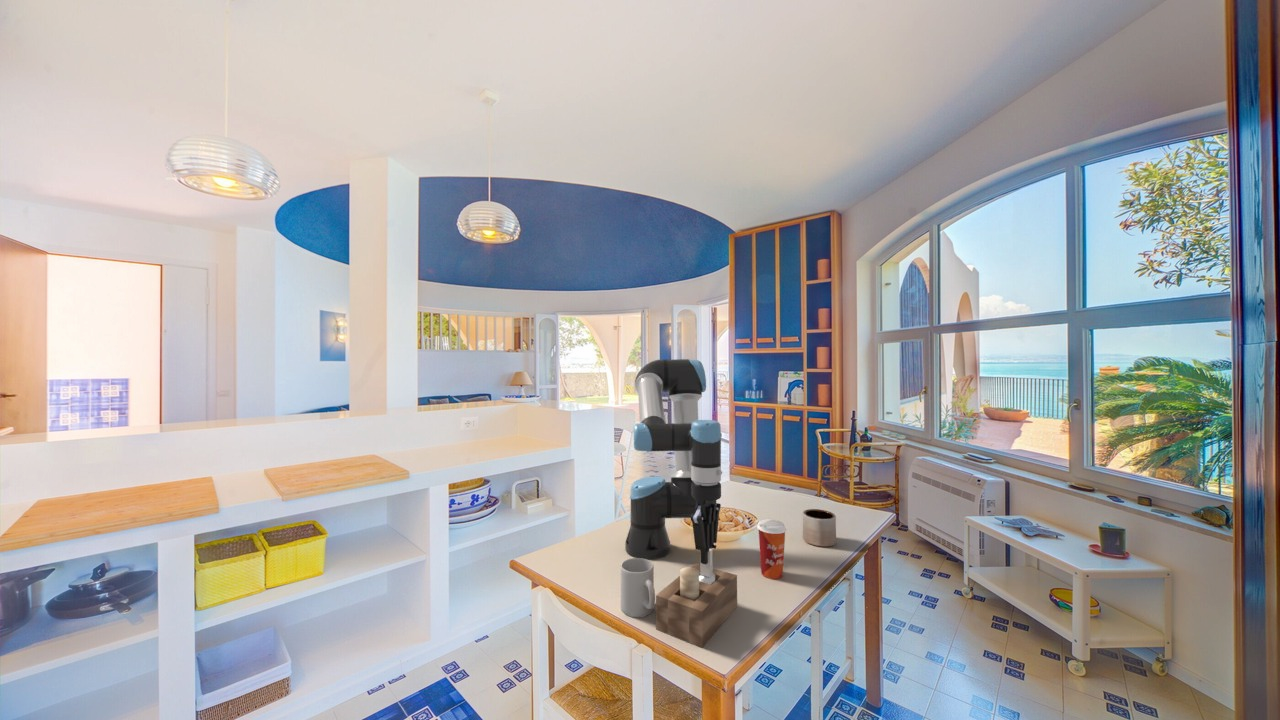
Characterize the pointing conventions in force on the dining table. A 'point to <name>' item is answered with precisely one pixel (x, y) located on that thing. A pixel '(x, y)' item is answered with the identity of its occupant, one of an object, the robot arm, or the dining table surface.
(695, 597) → the beech peg
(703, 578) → the aluminium peg
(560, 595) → the dining table surface
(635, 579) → the mug
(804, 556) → the dining table surface
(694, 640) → the walnut socket block
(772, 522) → the coffee cup
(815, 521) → the planter
